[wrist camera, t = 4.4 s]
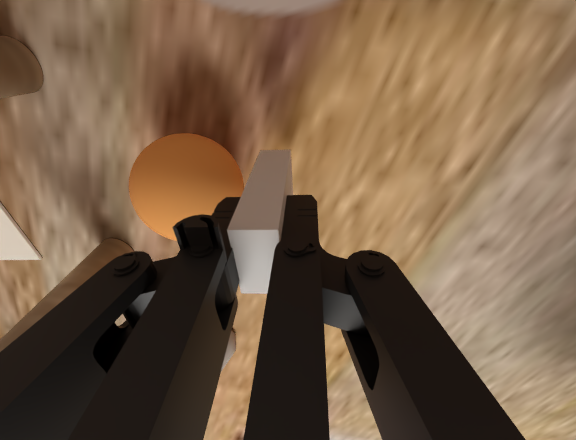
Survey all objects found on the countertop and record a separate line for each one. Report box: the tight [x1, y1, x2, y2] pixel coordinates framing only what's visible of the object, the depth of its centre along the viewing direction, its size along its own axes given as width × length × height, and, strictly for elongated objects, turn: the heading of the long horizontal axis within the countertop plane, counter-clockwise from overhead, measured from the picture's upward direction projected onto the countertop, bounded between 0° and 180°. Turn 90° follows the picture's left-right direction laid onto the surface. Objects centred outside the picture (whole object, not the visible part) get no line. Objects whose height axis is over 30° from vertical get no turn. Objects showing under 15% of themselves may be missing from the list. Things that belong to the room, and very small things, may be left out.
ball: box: [129, 133, 244, 241], centre depth 14 cm, size 6×6×6 cm
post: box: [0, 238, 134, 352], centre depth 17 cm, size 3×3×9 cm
